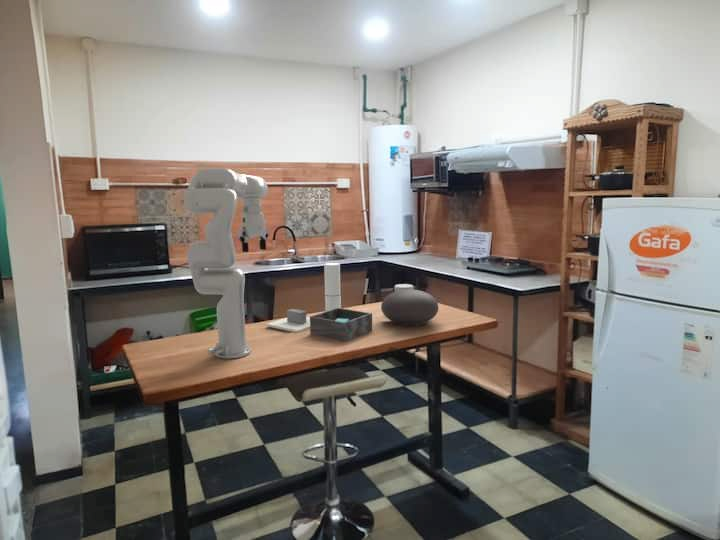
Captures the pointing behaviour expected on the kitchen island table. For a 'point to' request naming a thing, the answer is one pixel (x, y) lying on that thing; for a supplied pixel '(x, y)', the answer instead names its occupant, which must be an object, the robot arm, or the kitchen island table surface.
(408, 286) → the coffee cup
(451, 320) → the kitchen island table surface
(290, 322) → the lid
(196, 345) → the kitchen island table surface
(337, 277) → the tall white block
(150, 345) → the kitchen island table surface
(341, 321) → the teal block
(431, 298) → the squat round vase
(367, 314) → the box
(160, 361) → the kitchen island table surface
